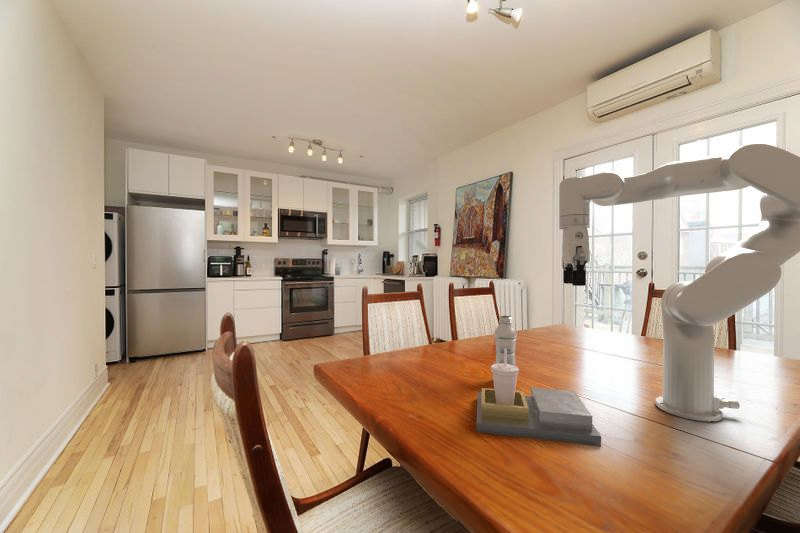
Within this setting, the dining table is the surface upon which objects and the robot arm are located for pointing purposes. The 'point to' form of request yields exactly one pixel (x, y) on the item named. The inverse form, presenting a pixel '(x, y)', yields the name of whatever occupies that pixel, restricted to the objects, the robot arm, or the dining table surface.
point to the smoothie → (504, 381)
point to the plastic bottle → (505, 340)
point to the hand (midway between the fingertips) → (574, 284)
